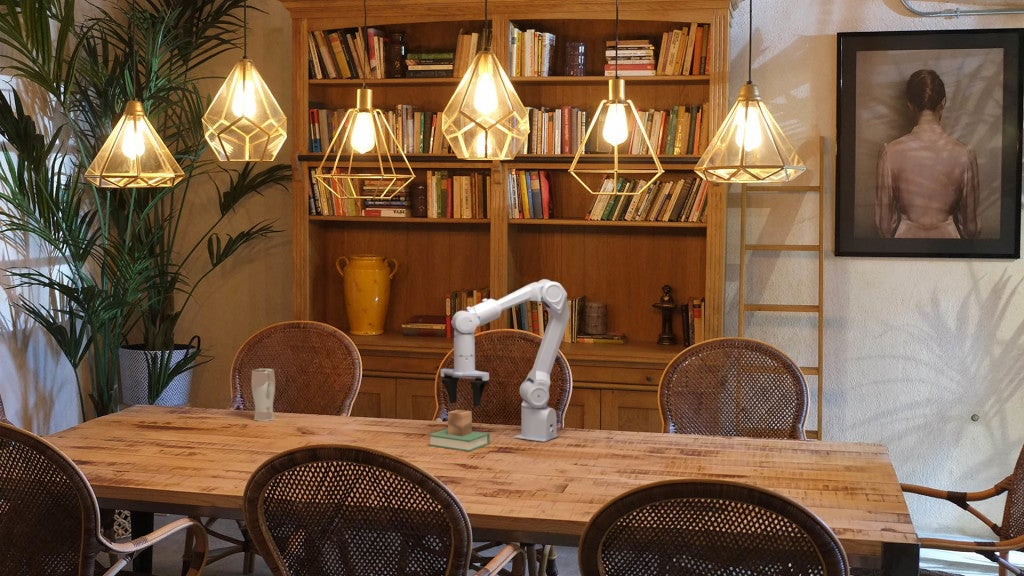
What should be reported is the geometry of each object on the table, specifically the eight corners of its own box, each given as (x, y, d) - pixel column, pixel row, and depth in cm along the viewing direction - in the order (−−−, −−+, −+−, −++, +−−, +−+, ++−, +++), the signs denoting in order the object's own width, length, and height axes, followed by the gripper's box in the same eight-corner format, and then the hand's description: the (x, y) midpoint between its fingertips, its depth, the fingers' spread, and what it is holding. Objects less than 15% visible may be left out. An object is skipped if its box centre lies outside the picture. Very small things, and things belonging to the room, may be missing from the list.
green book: (489, 444, 285) (489, 433, 285) (469, 451, 277) (469, 440, 276) (450, 438, 292) (450, 427, 292) (429, 445, 283) (429, 434, 283)
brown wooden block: (471, 433, 285) (471, 411, 284) (462, 436, 281) (462, 414, 281) (457, 431, 287) (457, 409, 287) (448, 434, 283) (448, 412, 283)
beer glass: (263, 422, 312) (262, 372, 311) (247, 420, 316) (246, 370, 315) (280, 418, 318) (279, 369, 317) (264, 415, 322) (263, 367, 321)
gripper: (434, 355, 286) (434, 404, 288) (479, 359, 279) (479, 409, 280) (448, 351, 292) (449, 399, 294) (493, 355, 285) (493, 404, 286)
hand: (464, 404), depth 287 cm, fingers open, 7 cm apart
